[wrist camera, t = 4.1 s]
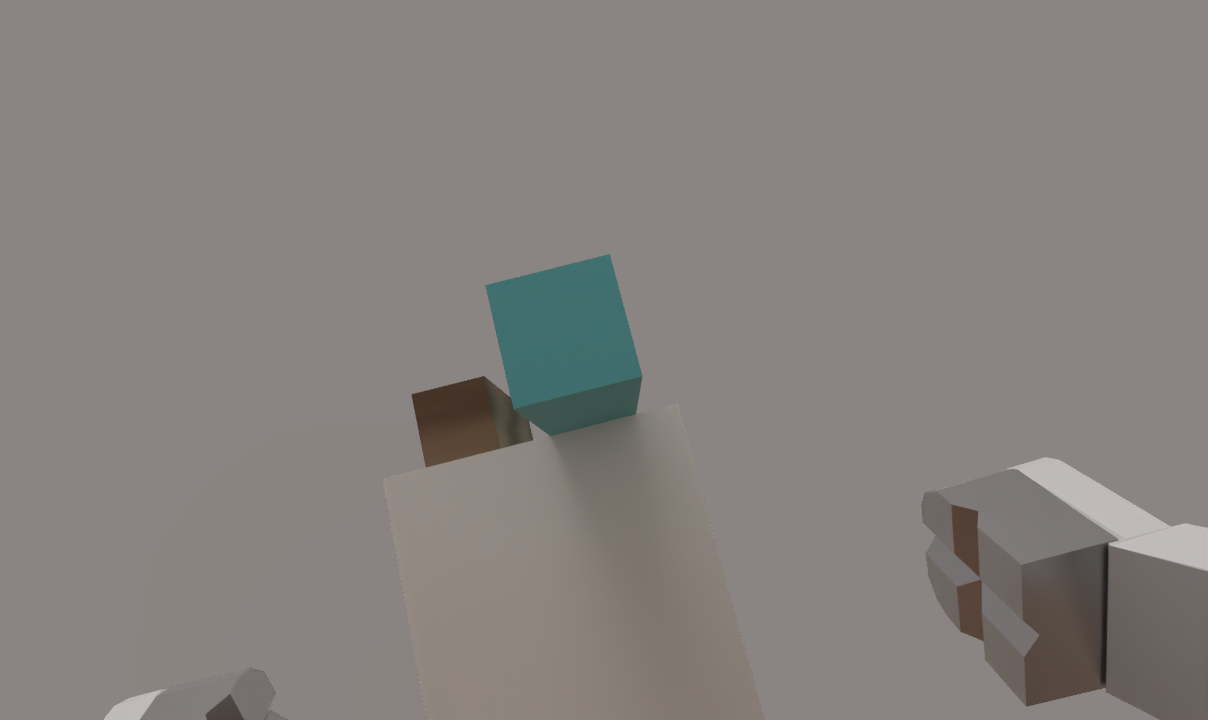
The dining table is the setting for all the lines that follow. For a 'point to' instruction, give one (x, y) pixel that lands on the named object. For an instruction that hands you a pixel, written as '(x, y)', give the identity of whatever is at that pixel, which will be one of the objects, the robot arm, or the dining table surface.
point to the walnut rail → (467, 421)
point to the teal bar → (567, 346)
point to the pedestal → (570, 581)
